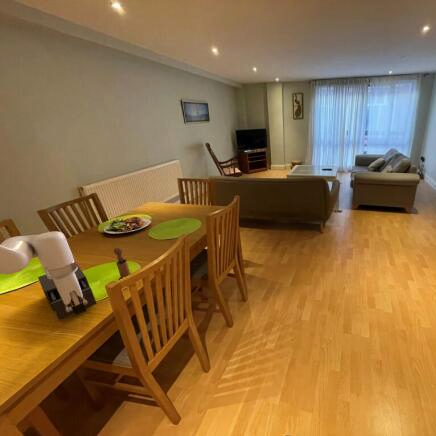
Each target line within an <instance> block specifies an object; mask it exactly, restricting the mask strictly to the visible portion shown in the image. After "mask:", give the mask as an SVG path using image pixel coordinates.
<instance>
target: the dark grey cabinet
mask: <svg viewBox="0 0 436 436" xmlns="http://www.w3.org/2000/svg"><path fill="white" fill-rule="evenodd" d="M76 265H77V267H78V269H77V270H76V271H75V275H76V277H77V280H78V281H79V280H83V281H84V283H85V284H86V286H87V288H88V287H90V288H91V286H90V283H89V281H88V279H87V278H88V277H86V274H85V273H84V271H83V270H82V269H81V268H80V266H79V264H78V263H76ZM37 278H38V281H39V283H40V286H41V289H42V291H43V294H44V296H45V298H46V300H47V302H48V304H49V306H50V308H51V310H52V312H54V313H55V311H54V309H53V307H52V305H51V302H53V300H52V297H51V295H50V293H49V292H50V291H53V290H55V289H57V288H56V285H55V283H54V280H53V279H48V278H47V276H46V273H44V274H43V275H40V276H38V277H37Z"/></svg>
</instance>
